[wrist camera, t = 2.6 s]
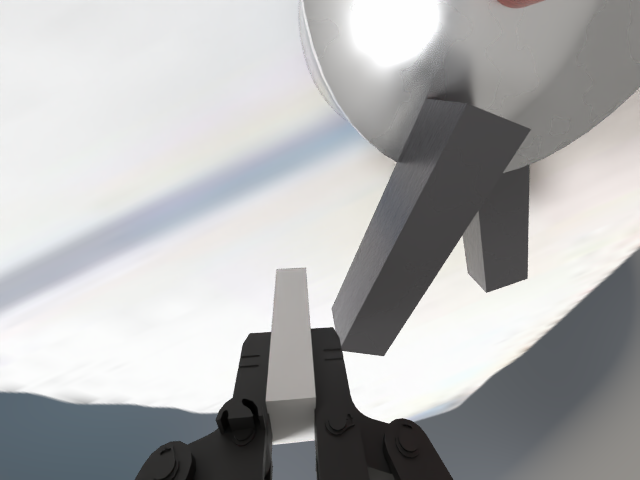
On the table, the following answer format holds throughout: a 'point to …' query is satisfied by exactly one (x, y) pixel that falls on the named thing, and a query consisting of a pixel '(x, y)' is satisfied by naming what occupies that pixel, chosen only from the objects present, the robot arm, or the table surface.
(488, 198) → the pot
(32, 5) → the table surface
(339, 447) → the robot arm
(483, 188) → the lid
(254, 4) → the table surface
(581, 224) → the table surface
